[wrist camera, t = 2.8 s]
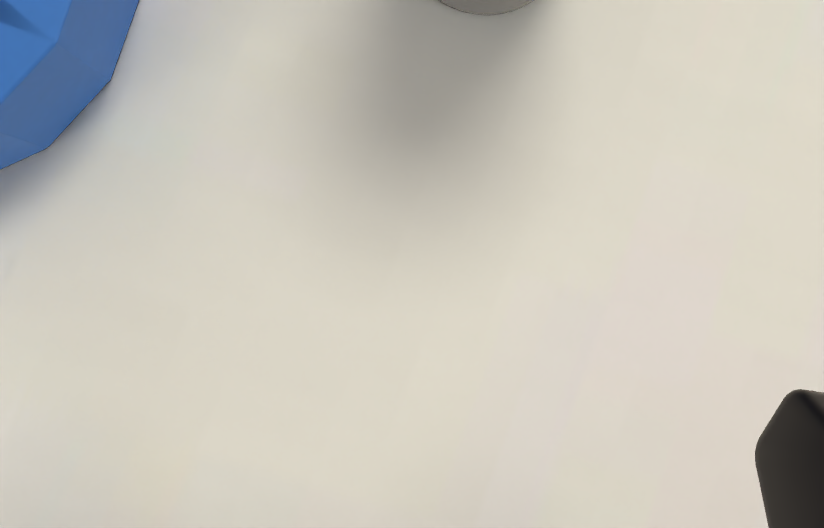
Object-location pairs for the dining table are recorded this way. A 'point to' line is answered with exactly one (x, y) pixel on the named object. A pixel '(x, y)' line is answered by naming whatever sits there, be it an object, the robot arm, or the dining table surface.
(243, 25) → the dining table surface
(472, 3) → the steel tin
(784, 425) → the robot arm
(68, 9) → the tape roll
